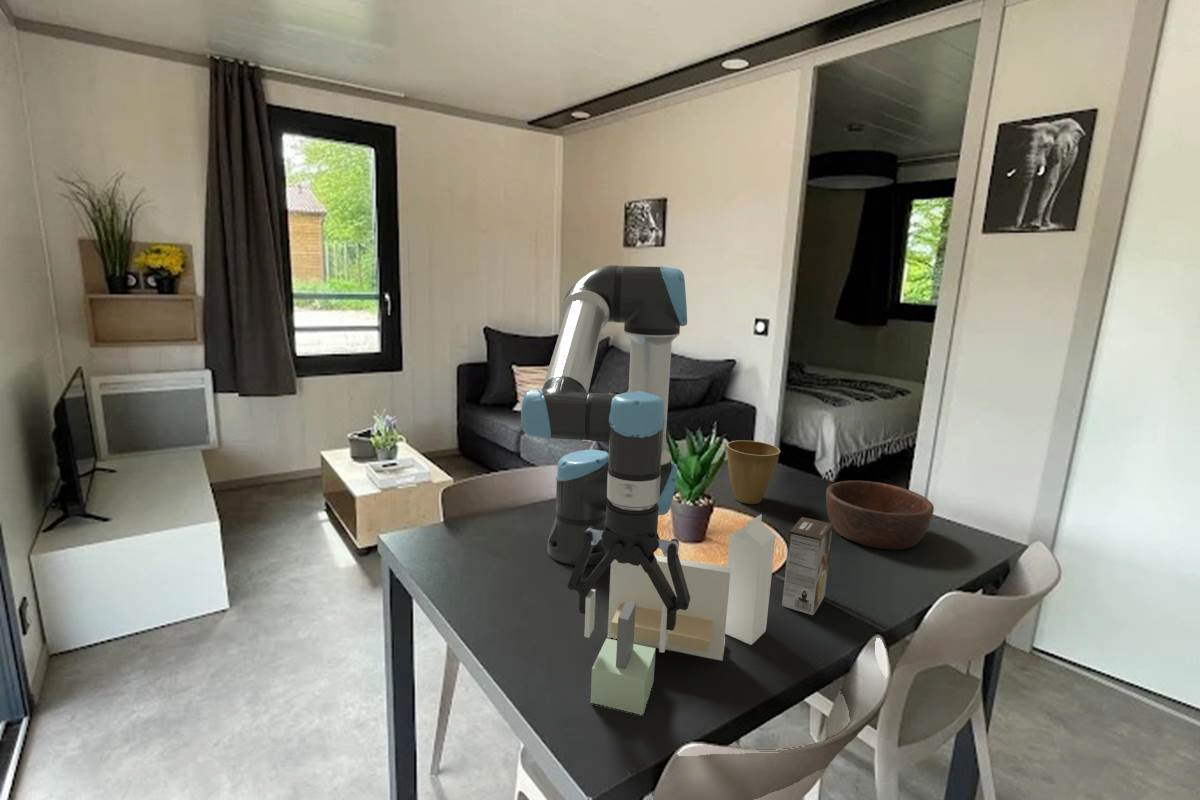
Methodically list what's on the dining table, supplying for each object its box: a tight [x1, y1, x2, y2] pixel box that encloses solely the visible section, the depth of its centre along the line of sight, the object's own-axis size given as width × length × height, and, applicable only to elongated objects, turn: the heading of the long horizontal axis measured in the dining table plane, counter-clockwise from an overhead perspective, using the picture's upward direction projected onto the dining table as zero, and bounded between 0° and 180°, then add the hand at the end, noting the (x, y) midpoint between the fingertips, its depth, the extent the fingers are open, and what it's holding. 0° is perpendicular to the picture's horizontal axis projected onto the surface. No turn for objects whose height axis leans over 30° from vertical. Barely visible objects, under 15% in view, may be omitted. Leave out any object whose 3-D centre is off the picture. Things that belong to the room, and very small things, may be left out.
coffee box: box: [781, 516, 834, 616], centre depth 120 cm, size 9×6×16 cm
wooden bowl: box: [825, 480, 935, 551], centre depth 155 cm, size 25×25×10 cm
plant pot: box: [726, 440, 781, 505], centre depth 175 cm, size 15×15×16 cm
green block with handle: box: [590, 601, 657, 716], centre depth 92 cm, size 8×8×14 cm
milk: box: [725, 514, 777, 646], centre depth 108 cm, size 6×6×22 cm
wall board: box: [607, 554, 731, 661], centre depth 102 cm, size 20×10×16 cm, turn 74°
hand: (625, 639), depth 91 cm, fingers open, 11 cm apart
